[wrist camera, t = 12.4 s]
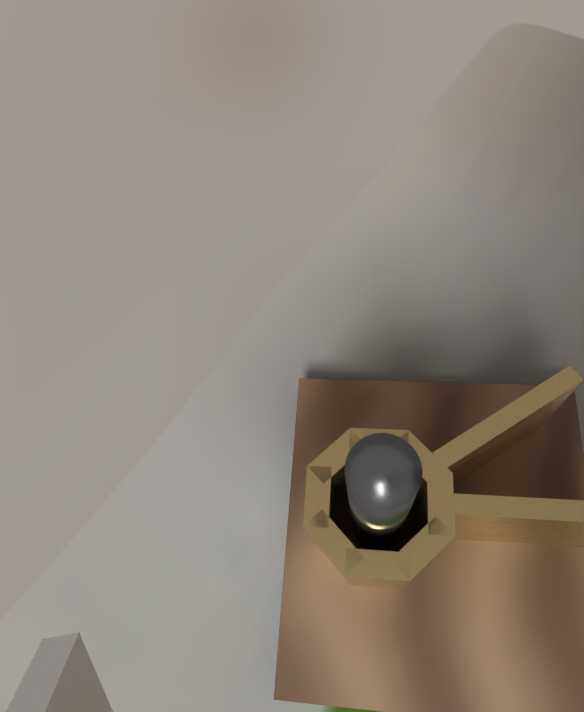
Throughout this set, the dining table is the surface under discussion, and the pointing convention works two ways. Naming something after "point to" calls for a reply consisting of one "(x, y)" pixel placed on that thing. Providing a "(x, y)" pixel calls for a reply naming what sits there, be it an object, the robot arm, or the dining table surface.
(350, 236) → the dining table surface
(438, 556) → the walnut board
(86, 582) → the dining table surface
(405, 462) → the hinge pin
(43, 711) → the robot arm
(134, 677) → the dining table surface
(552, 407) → the brass hinge
